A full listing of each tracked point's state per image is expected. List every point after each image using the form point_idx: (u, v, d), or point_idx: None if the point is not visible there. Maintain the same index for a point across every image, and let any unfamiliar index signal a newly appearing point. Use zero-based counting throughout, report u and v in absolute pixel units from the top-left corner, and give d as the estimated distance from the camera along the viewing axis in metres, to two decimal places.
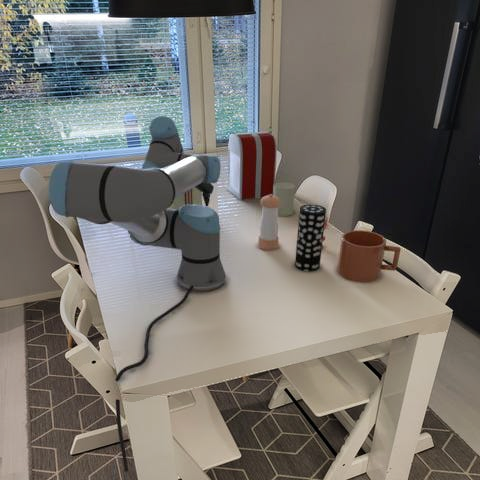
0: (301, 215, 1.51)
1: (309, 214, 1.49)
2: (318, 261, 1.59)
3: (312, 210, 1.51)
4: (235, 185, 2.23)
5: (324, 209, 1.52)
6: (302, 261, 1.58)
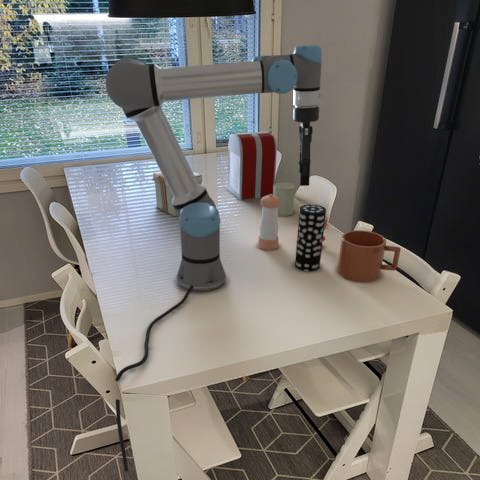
0: (301, 215, 1.51)
1: (309, 214, 1.49)
2: (318, 261, 1.59)
3: (312, 210, 1.51)
4: (235, 184, 2.23)
5: (324, 209, 1.52)
6: (302, 261, 1.58)
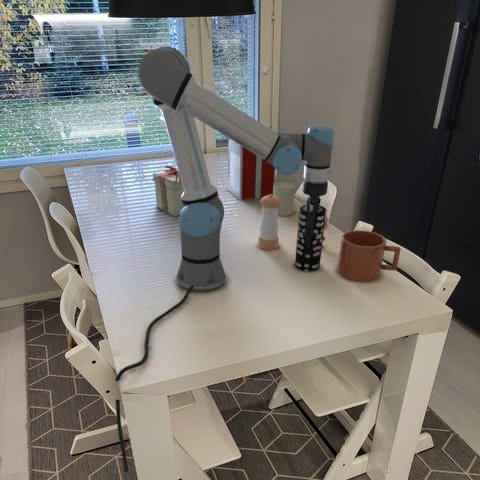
0: (301, 215, 1.51)
1: None
2: (318, 261, 1.59)
3: None
4: (235, 184, 2.23)
5: (324, 209, 1.52)
6: (302, 261, 1.58)
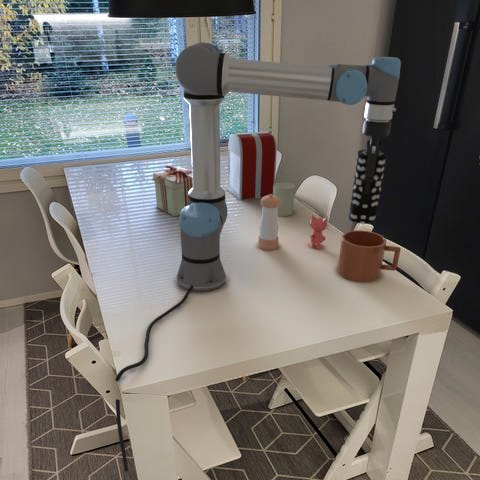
0: (360, 159, 1.39)
1: None
2: (375, 212, 1.46)
3: None
4: (235, 184, 2.23)
5: (385, 153, 1.39)
6: (358, 212, 1.46)
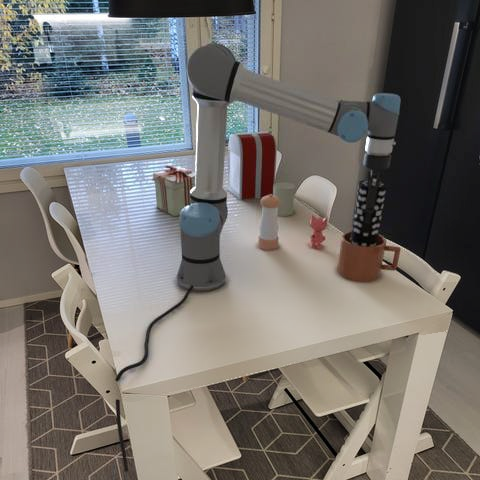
0: (361, 190, 1.43)
1: None
2: (376, 240, 1.51)
3: None
4: (235, 184, 2.23)
5: (385, 184, 1.44)
6: (359, 240, 1.50)
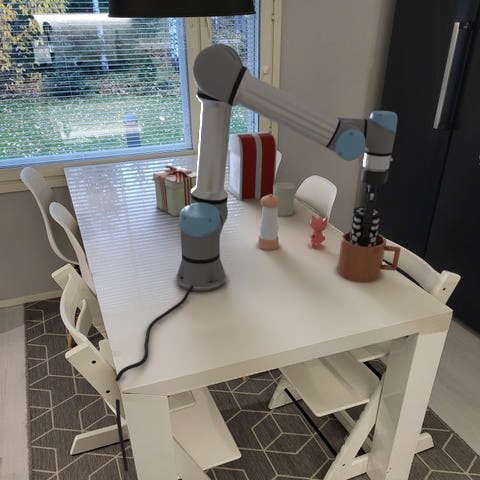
0: (356, 218, 1.47)
1: None
2: None
3: None
4: (235, 184, 2.23)
5: (379, 211, 1.47)
6: None
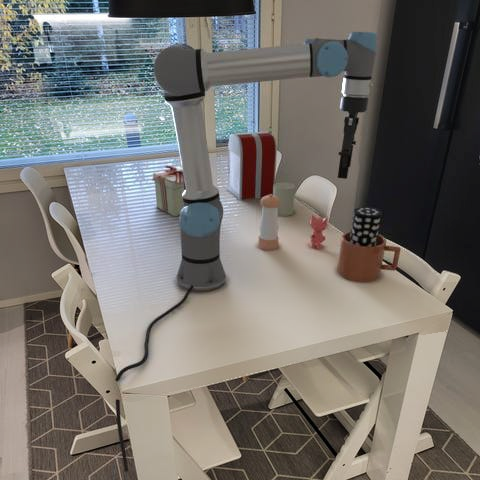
0: (357, 218, 1.47)
1: (366, 217, 1.45)
2: None
3: (368, 213, 1.47)
4: (235, 184, 2.23)
5: (379, 212, 1.48)
6: None
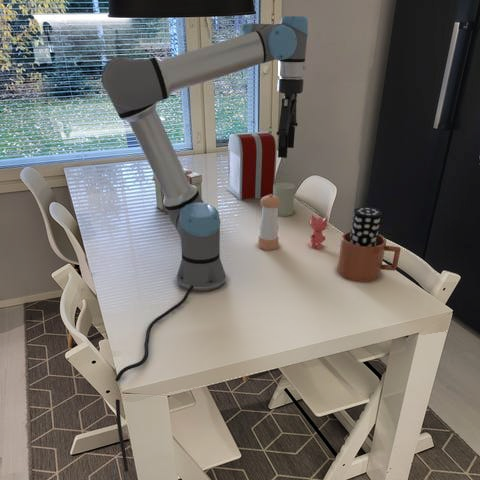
0: (357, 218, 1.47)
1: (366, 217, 1.45)
2: None
3: (368, 213, 1.47)
4: (235, 184, 2.23)
5: (379, 212, 1.48)
6: None
